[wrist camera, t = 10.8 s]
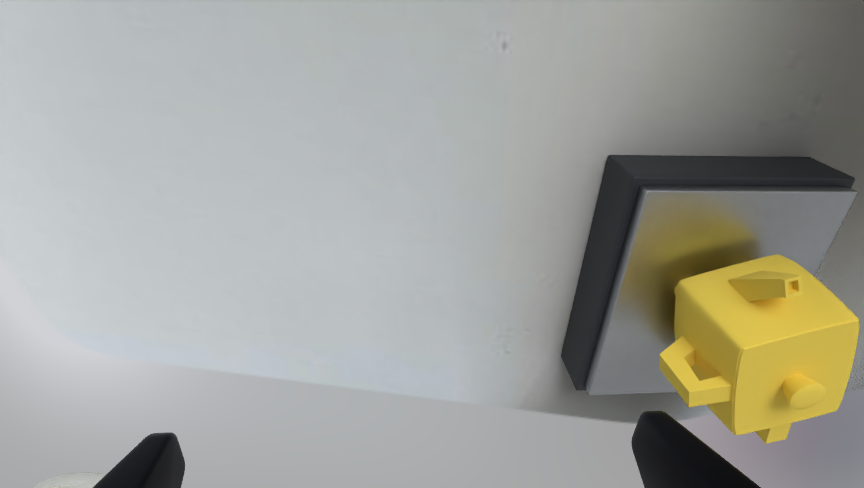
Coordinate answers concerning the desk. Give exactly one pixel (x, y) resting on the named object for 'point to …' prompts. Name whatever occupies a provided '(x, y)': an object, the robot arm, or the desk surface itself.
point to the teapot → (760, 346)
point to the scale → (685, 249)
